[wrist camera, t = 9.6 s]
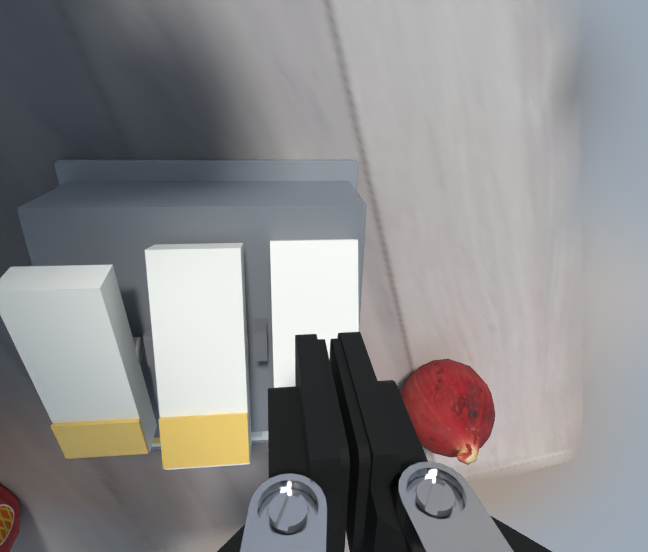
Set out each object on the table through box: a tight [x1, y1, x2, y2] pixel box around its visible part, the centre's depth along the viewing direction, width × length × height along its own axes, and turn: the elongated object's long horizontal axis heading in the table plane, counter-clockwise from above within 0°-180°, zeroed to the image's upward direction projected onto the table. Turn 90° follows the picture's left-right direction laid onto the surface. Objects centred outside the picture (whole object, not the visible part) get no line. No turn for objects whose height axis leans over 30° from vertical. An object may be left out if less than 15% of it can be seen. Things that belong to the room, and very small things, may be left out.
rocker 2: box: [145, 243, 252, 470], centre depth 20 cm, size 10×4×3 cm, turn 179°
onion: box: [401, 359, 495, 465], centre depth 28 cm, size 6×6×8 cm
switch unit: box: [16, 160, 366, 450], centre depth 25 cm, size 20×16×7 cm
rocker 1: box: [0, 265, 157, 459], centre depth 20 cm, size 10×4×3 cm, turn 179°
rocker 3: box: [270, 239, 359, 388], centre depth 21 cm, size 10×4×3 cm, turn 179°
